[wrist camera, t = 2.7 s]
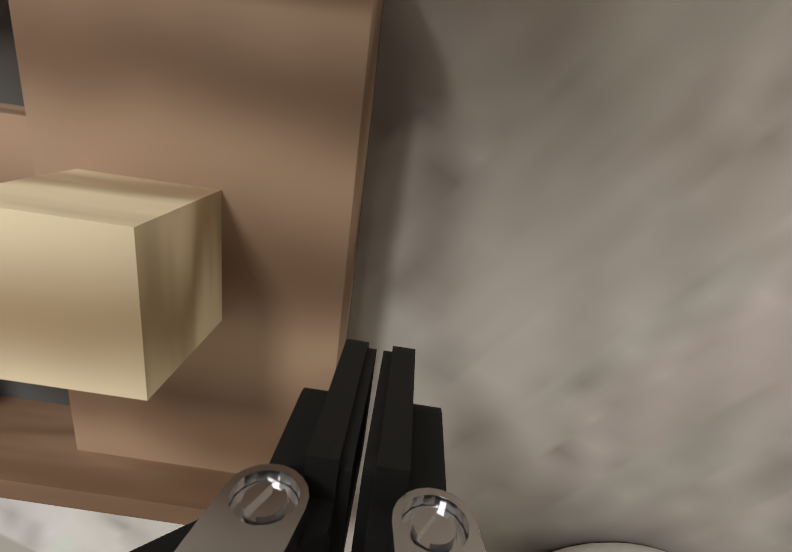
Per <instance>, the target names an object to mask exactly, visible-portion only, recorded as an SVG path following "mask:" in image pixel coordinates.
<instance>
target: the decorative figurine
mask: <svg viewBox="0 0 792 552" xmlns="http://www.w3.org/2000/svg"><path fill="white" fill-rule="evenodd" d="M554 552H666V551H663V550H659V549H655V548H652V547H648V546H643V545H637V544H629V543H588V544H583V545H577V546H571V547H566V548H563V549H560V550H557V551H554Z"/></svg>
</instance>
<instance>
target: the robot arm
mask: <svg viewBox="0 0 792 552" xmlns="http://www.w3.org/2000/svg"><path fill="white" fill-rule="evenodd" d="M376 351H377V349H370V348H369V342H363V341H357V340H350V339H347V340H346V342H345V345H344V348H343V351H342V353H341V356H340V359H339V362H338V365H337V368H336V370H335V373H334V376H333V379H332V382H331V385H330V388H329V390H328V391H325V390H319V389H312V388H306V387H305V388H303V390H302V391H301V394H300V396H299V398H298V400H297V402H296V405H295V407H294V409H293V411H292V414H291V416H290V418H289V420H288V422H287V425H286V427H285V429H284V431H283V434H282V436H281V438H280V440H279V443H278V445H277V447H276V449H275V451H274V454H273V456H272V458H271V460H270V463H269V464H259V465H255V466H252V467H249V468H246V469H244V470H242V471H241V472H239V473H237V474H235V475H234V476H233V477H232V478H231V479H230V480H229V481H228V482H227V483H226V484H225V485H224V486H223V488H222V489H221V490H220V492H219V493H218V494H217V496H216V497H215V498H214V500H213V501H212V502H211V504H210V505H209V506H208V507H207V509H206V510H205V511H204V513H203V514H202V515H201V517H200V518H199V519H198V520H196V521H194V522H191V523H189V524H187V525H185V526H183V527H181V528H179V529H177V530H174V531H172V532H170V533H168V534H166V535H164V536H162V537H160V538H158V539H155V540H153V541H151V542H149V543H147V544H145V545H143V546H141V547H138V548H136V549H134V550H132V551H130V552H344V548H345V543H346V538H347V532H348V527H349V521H350V516H351V511H352V505H353V500H354V495H355V489H356V484H357V478H358V473H359V468H360V462H361V457H362V451H363V445H364V438H365V431H366V424H367V417H368V409H369V402H370V395H371V388H372V380H373V373H374V366H375V359H376ZM414 369H415V349H410V348H403V347H396V346H393V351H392V352H390V351H383V357H382V363H381V368H380V374H379V380H378V385H377V391H376V397H375V403H374V408H373V414H372V420H371V425H370V431H369V437H368V442H367V448H366V454H365V460H364V466H363V473H362V479H361V487H360V494H359V501H358V508H357V515H356V522H355V529H354V536H353V543H352V551H351V552H486V550H485V547H484V543H483V540H482V537H481V533H480V530H479V527H478V523H477V521H476V519H475V517H474V515H473V513H472V511H471V510H470V509H469V508H468V507H467V505H466V504H465V503H464V502H463V501H461V500H460V499H459V498H457V497H456V496H454V495H453V494H450V493H448V492H446V478H445V460H444V443H443V426H442V411H441V408H437V407H430V406H424V405H417V404H413V394H414Z"/></svg>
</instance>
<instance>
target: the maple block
mask: <svg viewBox="0 0 792 552" xmlns="http://www.w3.org/2000/svg"><path fill="white" fill-rule="evenodd" d="M221 321H222V218H221V190H219V189H212V188H205V187H198V186H191V185H184V184H177V183H171V182H164V181H157V180H150V179H143V178H136V177H130V176H123V175H116V174H109V173H102V172H95V171H88V170H82V169H73V170H67V171H62V172H57V173H51V174H46V175H41V176H35V177H30V178H25V179H19V180H14V181H8V182H3V183H0V379H3V380H10V381H16V382H23V383H30V384H37V385H44V386H50V387H57V388H64V389H71V390H77V391H84V392H91V393H98V394H105V395H111V396H118V397H125V398H132V399H139V400H145V401H148V400H149V398H150V397H151V396H152V395H153V394H154V393H155V392H156V391H157V390H158V389H159V388H160V387H161V385H162V384H163V383H164V382H165V381H166V380H167V379H168V378H169V377H170V376H171V375H172V374H173V373H174V371H175V370H176V369H177V368H178V367H179V366H180V365H181V364H182V363H183V362H184V361H185V360H186V359H187V357H188V356H189V355H190V354H191V353H192V352H193V351H194V350H195V349H196V348H197V347H198V346H199V344H200V343H201V342H202V341H203V340H204V339H205V338H206V337H207V336H208V335H209V334H210V333H211V332H212V330H213V329H214V328H215V327H216V326H217V325H218V324H219V323H220V322H221Z"/></svg>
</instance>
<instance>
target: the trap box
mask: <svg viewBox="0 0 792 552" xmlns="http://www.w3.org/2000/svg"><path fill="white" fill-rule="evenodd" d="M383 2H384V0H0V183H3V182H8V181H14V180H19V179H25V178H30V177H35V176H41V175H46V174H51V173H57V172H62V171H67V170H73V169H82V170H88V171H95V172H102V173H109V174H116V175H123V176H130V177H136V178H143V179H150V180H157V181H164V182H171V183H177V184H184V185H191V186H198V187H205V188H212V189H219V190H221V218H222V321H221V322H220V323H219V324H218V325H217V326H216V327H215V328H214V329H213V330H212V332H211V333H210V334H209V335H208V336H207V337H206V338H205V339H204V340H203V341H202V342H201V343H200V344H199V346H198V347H197V348H196V349H195V350H194V351H193V352H192V353H191V354H190V355H189V356H188V357H187V359H186V360H185V361H184V362H183V363H182V364H181V365H180V366H179V367H178V368H177V369H176V370H175V371H174V373H173V374H172V375H171V376H170V377H169V378H168V379H167V380H166V381H165V382H164V383H163V384H162V385H161V387H160V388H159V389H158V390H157V391H156V392H155V393H154V394H153V395H152V396H151V397H150V398H149V400H148V401H145V400H139V399H132V398H125V397H118V396H111V395H105V394H98V393H91V392H84V391H77V390H71V389H64V388H57V387H50V386H44V385H37V384H30V383H23V382H16V381H10V380H3V379H0V497H1V498H7V499H14V500H21V501H28V502H35V503H41V504H48V505H55V506H62V507H68V508H75V509H82V510H89V511H95V512H102V513H109V514H116V515H122V516H129V517H136V518H143V519H149V520H156V521H163V522H170V523H176V524H183V525H187V524H189V523H191V522H194V521H196V520H198V519H199V518H200V517H201V515H202V514H203V513H204V511H205V510H206V509H207V507H208V506H209V505H210V504H211V502H212V501H213V500H214V498H215V497H216V496H217V494H218V493H219V492H220V490H221V489H222V488H223V486H224V485H225V484H226V483H227V482H228V481H229V480H230V479H231V478H232V477H233V476H234V475H235V474H237V473H239V472H241V471H242V470H244V469H246V468H249V467H252V466H255V465H259V464H269V463H270V460H271V458H272V456H273V454H274V451H275V449H276V447H277V445H278V443H279V440H280V438H281V436H282V434H283V431H284V429H285V427H286V425H287V422H288V420H289V418H290V416H291V414H292V411H293V409H294V407H295V405H296V402H297V400H298V398H299V396H300V394H301V391H302V390H303V388H305V387H306V388H312V389H319V390H325V391H328V390H329V388H330V385H331V382H332V379H333V376H334V373H335V370H336V368H337V365H338V362H339V359H340V356H341V353H342V351H343V348H344V345H345V342H346V340H347V334H348V324H349V315H350V306H351V297H352V288H353V278H354V269H355V260H356V251H357V242H358V232H359V223H360V214H361V205H362V196H363V186H364V177H365V168H366V159H367V149H368V140H369V131H370V122H371V113H372V103H373V94H374V85H375V76H376V67H377V57H378V48H379V39H380V30H381V21H382V11H383Z"/></svg>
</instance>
